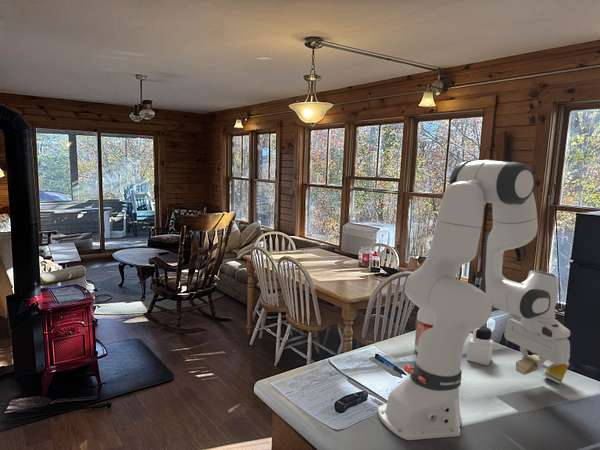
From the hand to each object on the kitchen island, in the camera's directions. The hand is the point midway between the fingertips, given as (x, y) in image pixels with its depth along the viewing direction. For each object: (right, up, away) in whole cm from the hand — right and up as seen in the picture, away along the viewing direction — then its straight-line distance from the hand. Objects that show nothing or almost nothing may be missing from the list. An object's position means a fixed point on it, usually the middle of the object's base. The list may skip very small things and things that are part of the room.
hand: (531, 364), depth 129 cm
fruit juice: (-25, -3, +24) cm, 35 cm away
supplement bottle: (+9, -7, +4) cm, 12 cm away
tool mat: (-3, -9, -7) cm, 11 cm away
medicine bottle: (-8, -5, +19) cm, 22 cm away
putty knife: (+2, -1, +1) cm, 2 cm away
